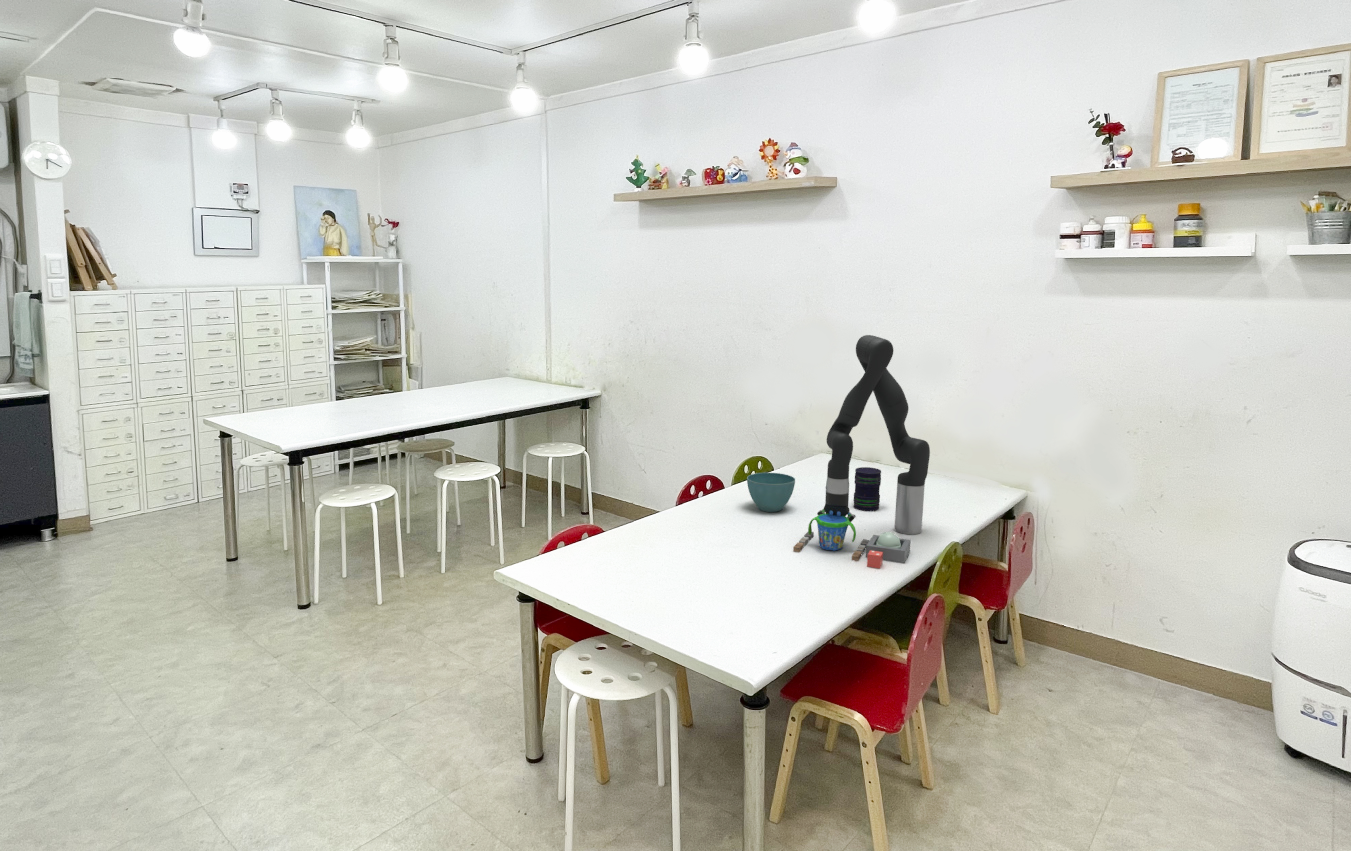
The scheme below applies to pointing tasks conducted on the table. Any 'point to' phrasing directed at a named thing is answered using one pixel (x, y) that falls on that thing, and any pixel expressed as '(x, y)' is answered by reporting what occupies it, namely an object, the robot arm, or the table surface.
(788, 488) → the teal bowl
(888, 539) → the dome
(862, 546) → the track markers
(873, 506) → the storage jar
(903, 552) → the frame
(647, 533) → the table surface
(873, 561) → the red die
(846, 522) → the snack cup
